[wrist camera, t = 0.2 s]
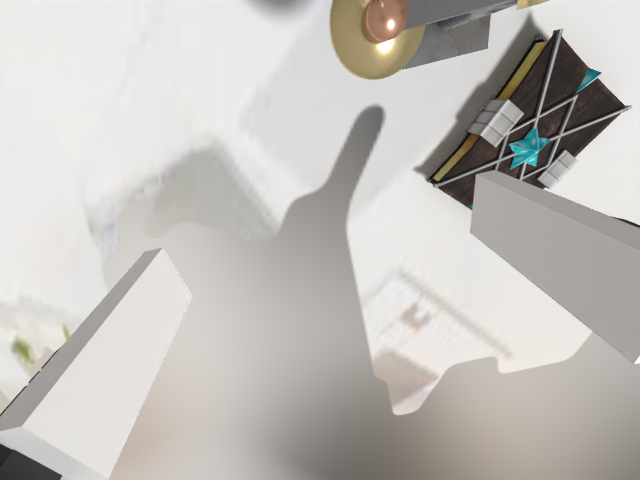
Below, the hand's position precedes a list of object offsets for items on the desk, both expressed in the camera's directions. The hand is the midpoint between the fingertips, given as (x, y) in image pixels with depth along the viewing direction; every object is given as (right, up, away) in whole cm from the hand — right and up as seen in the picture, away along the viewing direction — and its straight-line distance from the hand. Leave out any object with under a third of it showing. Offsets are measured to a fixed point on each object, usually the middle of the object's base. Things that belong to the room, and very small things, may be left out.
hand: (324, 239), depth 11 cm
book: (+28, +14, +28) cm, 42 cm away
